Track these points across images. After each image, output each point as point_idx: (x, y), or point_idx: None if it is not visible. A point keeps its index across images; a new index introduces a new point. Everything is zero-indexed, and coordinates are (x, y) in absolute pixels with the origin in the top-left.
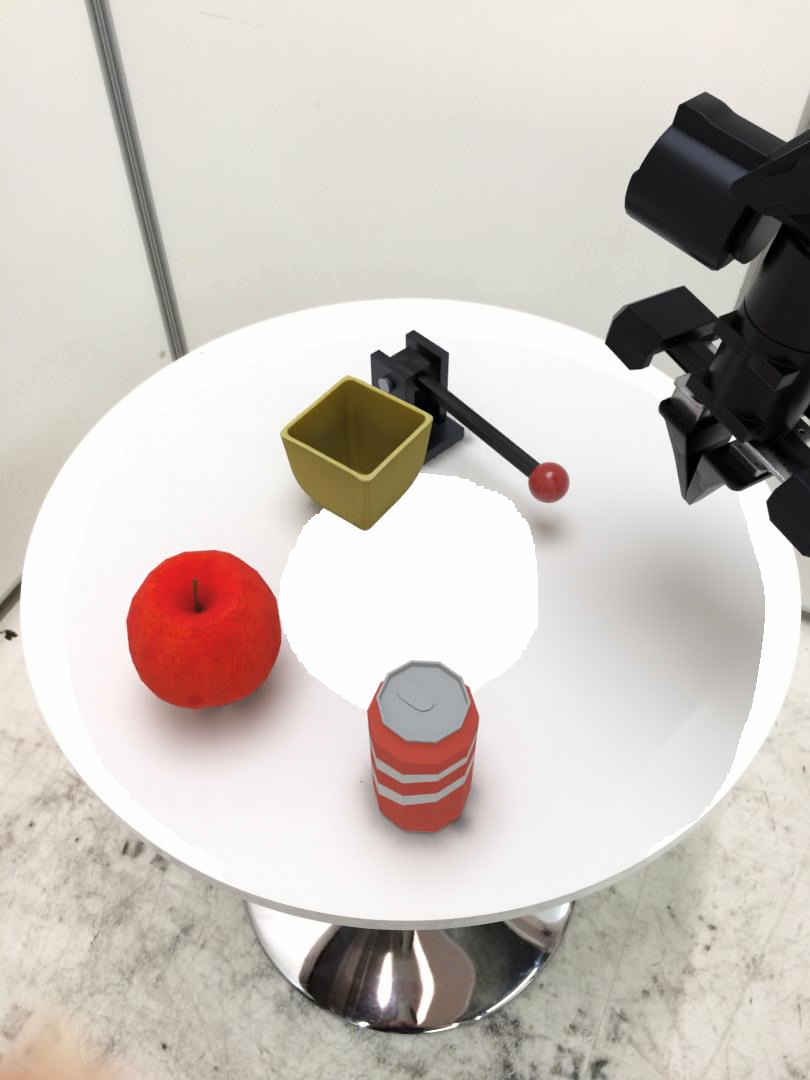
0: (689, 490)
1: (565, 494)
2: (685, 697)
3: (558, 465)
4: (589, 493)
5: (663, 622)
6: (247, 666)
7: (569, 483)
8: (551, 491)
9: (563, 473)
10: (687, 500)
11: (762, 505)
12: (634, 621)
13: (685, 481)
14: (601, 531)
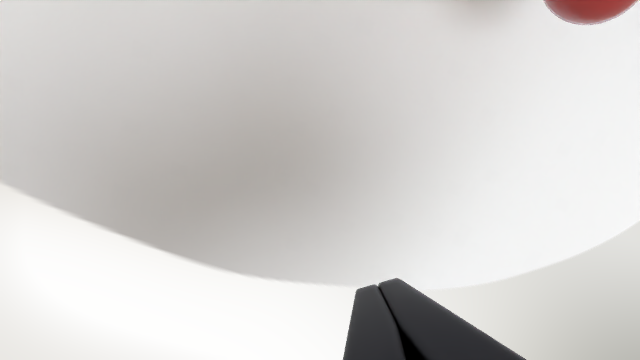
0: (389, 341)
1: (546, 2)
2: (41, 81)
3: (630, 3)
4: (515, 83)
5: (223, 106)
6: None
7: (569, 19)
8: None
9: (605, 6)
10: (370, 295)
11: None
12: (237, 54)
13: (431, 354)
14: (439, 73)
